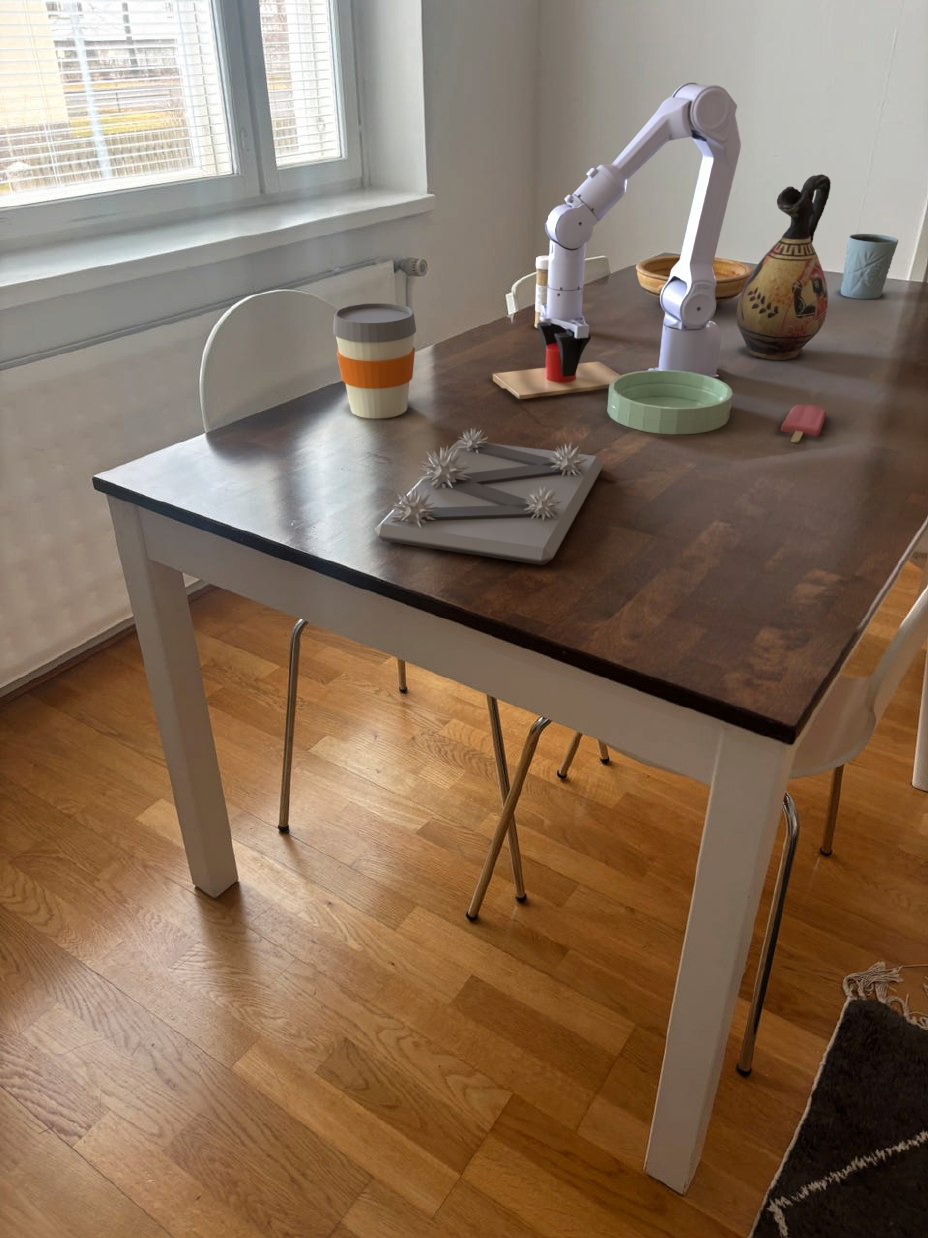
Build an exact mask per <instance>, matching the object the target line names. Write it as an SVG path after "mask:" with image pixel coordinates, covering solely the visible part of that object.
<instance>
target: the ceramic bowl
mask: <svg viewBox="0 0 928 1238" xmlns="http://www.w3.org/2000/svg"><path fill="white" fill-rule="evenodd" d="M680 256H681V255H671V256H670V255H669V256H668V255H667V256H657V257H652V258H648V259H644V260H641V261H639V262H637V264H635V265H636V266H635V269H636V271H637V272H636V274H637V279H638V282H639V285H640V286H641V288H642V289H643V290H644V292H645V293H647V295H650V296H651V297H653V298H655V299H657V300H659V301H660V294H661V291H662V289H663V287H664V286H665V284H666V283H667V281H668V280H669V277H670V273H671V270H672V268H673V267H674V266H675V265H676V264H677V263H678V261H679V260H680ZM712 267H713V272H714V275H715V279H716V288H715V299H716V305H718V304H721V303H724V302H727V301H728V300H731V299H734V298H736V297H737V296H739V295H741V293H742V290H743V288H744V285H745V283H746V281H747V280H748V278H749V276H750V275H751V273H752V271H753V270H754V269H753V268H752V267H751V266H749V265H748V264H745V263H743V262H741V261H737V260H733V259H728V258H723V257H716V256H715V257H714V261H713V265H712Z"/></svg>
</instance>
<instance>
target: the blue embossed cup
mask: <svg viewBox="0 0 928 1238" xmlns="http://www.w3.org/2000/svg"><path fill="white" fill-rule="evenodd" d="M898 245H899V239H898V238H896V237H893V236H889V235H885V234H876V233H855V234H850V235H848V240H847V248H846V256H845V260H844V261H845V262H844V267H843V272H842V273H843V274H842V283H841V288H840V294H841V295H842V296H844V297H847V298H850V299H858V300H874V299H878V298H880V297H881V296H882V294H883V290H884V288H885V283H886V279H887V278H888V274H889V271H890V268H891V265H892V263H893V262H892V261H893V257H894V256H895V253H896V250H897V246H898Z"/></svg>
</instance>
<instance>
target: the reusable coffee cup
mask: <svg viewBox="0 0 928 1238" xmlns="http://www.w3.org/2000/svg"><path fill="white" fill-rule="evenodd" d="M416 332H417V325H416V319H415V313H414V309H412V308H411V307H409V306H407V305H403V304H398V303H390V302H365V303H356V304H350V305H346V306H342V307H340V308H338V309H335V311H334V312H333V332H332V333H333V335H334V336H335V338H336V342H337V350H336V357H337V361H338V366H339V371H340V376H341V381H342V382H343V383H345V388H346V392H347V398H348V403H349V408H350V412H351V414H353V415H355V416H357V417H360V418H365V419H374V420H375V419H376V420H377V419H378V420H379V419H389V418H394V417H397V416H400V415H402V414H404V413H405V412H407V410H408V401H409V392H410V391H409V390H410V382H411V381H412V379H413V376H414V367H415V365H414V364H415V355H416V348H415V346H414V336H415V334H416Z"/></svg>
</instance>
